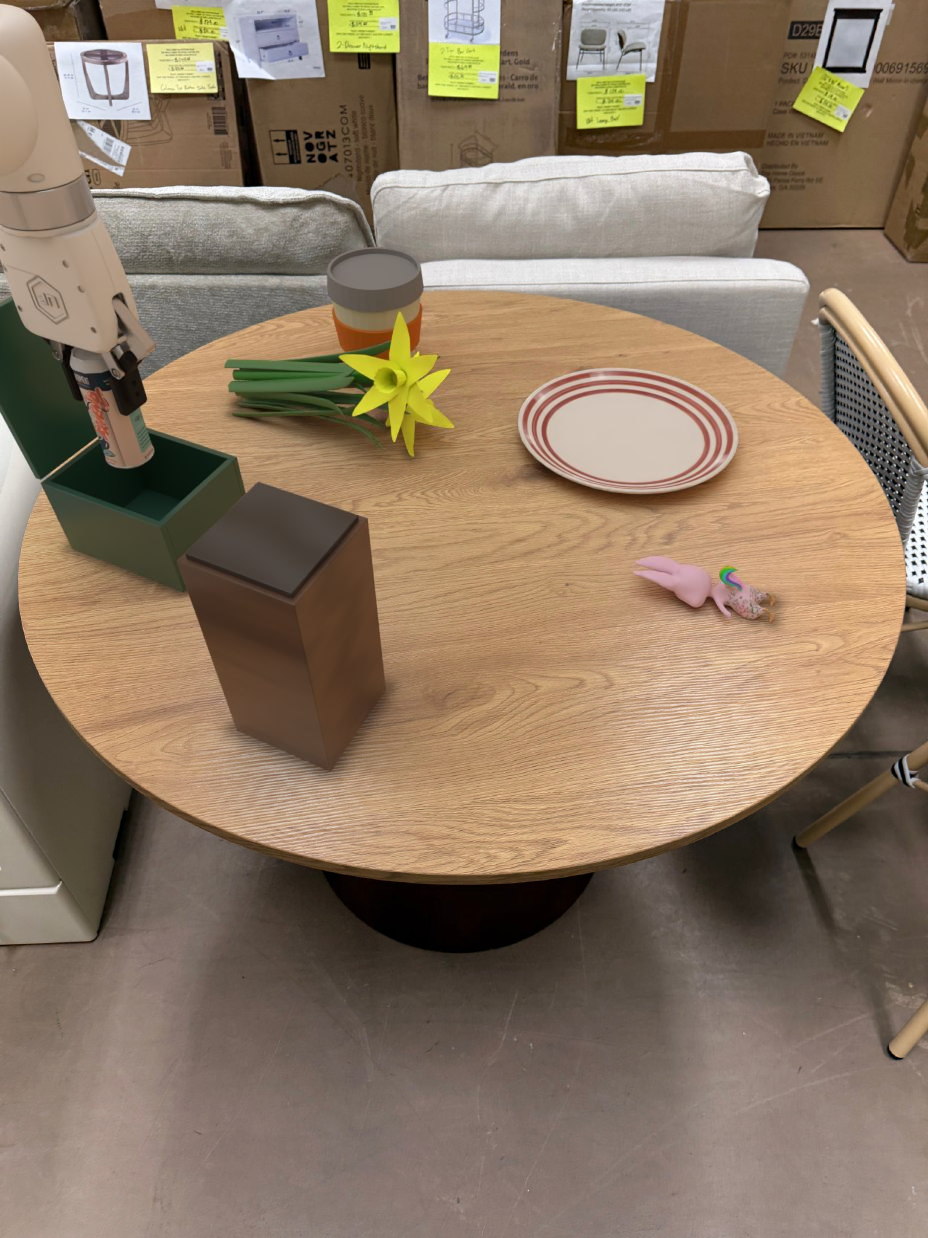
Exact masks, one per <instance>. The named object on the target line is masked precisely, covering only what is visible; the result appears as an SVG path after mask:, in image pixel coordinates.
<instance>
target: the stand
mask: <svg viewBox="0 0 928 1238" xmlns="http://www.w3.org/2000/svg"><path fill="white" fill-rule="evenodd" d="M369 525H370V524H369V518H368V517H365V516H362V515H360V514H357V513H353V512H350V511H348V510H344V509H341V508H338V507H335V506H333V505H329V504H326V503H323V502H320V501H318V500H314V499H311V498H309V497H305V496H303V495H299V494H297V493H294V492H290V491H287V490H285V489H282V488H279V487H275V486H273V485H270V484H267V483H263V482H261V481H257V482H256V483H255V484H254V485H253V486H252V487H251V488H250V489H249V490H248V491H246V494H245V495H244V496H243V497H242V498H241V499H240V500H239V501H238V502H236V503H235V504H234V505H233V506H232V507H231V508H230V509H229V510H228V511H227V512H226V513H225V514H224V515H223V516H222V517H221V518H220V519H219V520H218V521H217V522H216V523H215V524H214V525H213V526H212V527H211V528H210V529H209V530H208V531H207V532H206V533H205V534H204V535H203V536H202V537H201V538H200V539H198V540H197V541H196V542H195V543H194V544H193V545H192V546H191V547H190V548H189V549H188V550H187V551H186V552H185V553H184V554H183V555H182V556H181V557H180V558H179V559H178V560H177V563H178V566H179V569H180V571H181V574H182V577H183V580H184V583H185V586H186V588H187V590H186V591H187V595H188V597H189V600H190V603H191V605H192V608H193V611H194V614H195V616H196V619H197V622H198V626H199V628H200V631H201V633H202V636H203V639H204V642H205V644H206V647H207V650H208V653H209V656H210V659H211V661H212V665H213V667H214V670H215V673H216V676H217V679H218V681H219V684H220V687H221V691H222V693H223V695H224V698H225V701H226V704H227V706H228V709H229V712H230V715H231V718H232V721H233V724H234V727H235V729H236V731H237V732H239V733H241V734H243V735H245V736H249V737H250V738H253V739H255V740H257V741H260V742H262V743H264V744H266V745H269V746H271V747H274V748H275V749H277V750H280V751H282V752H285V753H287V754H289V755H291V756H294V757H296V758H298V759H300V760H302V761H305V762H307V763H310V764H311V765H314V766H315V767H318V768H321V769H323V770H325V771H328V772H332V770H333V769H334V767H335V766H336V764H338V762H339V760H340V759H341V757H342V755H343V754H344V752H345V751H346V750H347V748H348V746H350V744H351V742H352V741H353V739H354V738H355V736H356V735H357V733H358V732H359V730H360V729H361V727H362V726H363V724H364V723H365V721H366V720H367V719H368V717H369V716H370V715H371V713H372V711H373V710H374V708H375V707H376V706H377V704H378V702H379V701H380V699H381V698H382V696H383V695H384V693H385V692H386V690H387V688H386V678H385V669H384V658H383V650H382V640H381V639H382V638H381V631H380V622H379V621H380V620H379V611H378V604H377V603H378V602H377V592H376V584H375V583H376V582H375V574H374V573H375V572H374V564H373V555H372V554H373V553H372V545H371V536H370V526H369Z"/></svg>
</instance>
